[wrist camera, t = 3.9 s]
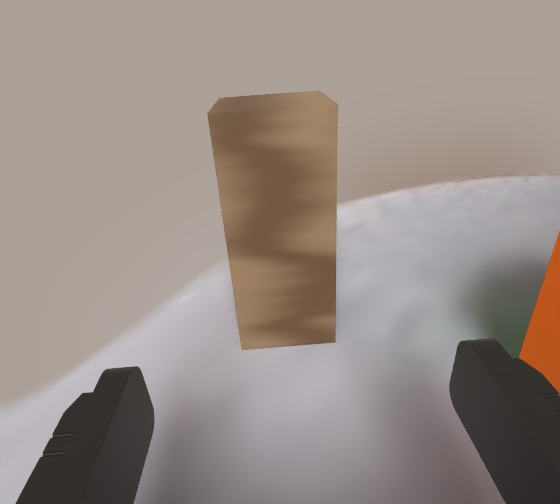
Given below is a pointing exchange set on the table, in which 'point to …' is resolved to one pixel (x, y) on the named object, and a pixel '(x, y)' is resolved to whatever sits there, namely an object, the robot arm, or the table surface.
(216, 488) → the table surface
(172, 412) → the table surface
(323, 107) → the pillar
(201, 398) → the table surface
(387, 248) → the table surface
